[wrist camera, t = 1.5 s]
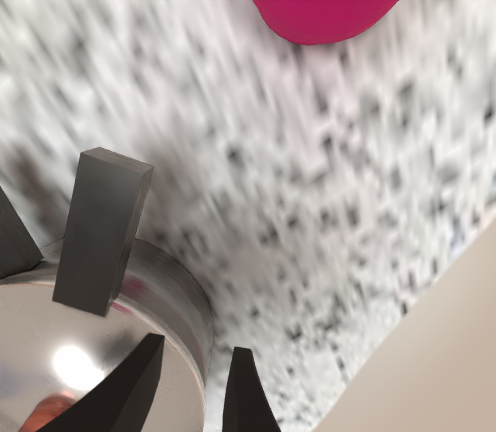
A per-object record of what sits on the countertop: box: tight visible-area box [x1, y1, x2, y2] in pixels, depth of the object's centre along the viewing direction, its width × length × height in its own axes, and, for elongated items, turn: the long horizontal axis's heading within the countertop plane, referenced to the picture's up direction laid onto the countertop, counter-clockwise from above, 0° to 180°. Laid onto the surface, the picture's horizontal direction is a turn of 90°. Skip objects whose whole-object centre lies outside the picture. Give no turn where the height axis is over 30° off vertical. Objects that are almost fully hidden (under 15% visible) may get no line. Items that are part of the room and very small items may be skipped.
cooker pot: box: [0, 186, 214, 388], centre depth 22 cm, size 15×24×6 cm, turn 20°
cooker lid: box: [0, 147, 206, 432], centre depth 17 cm, size 22×16×3 cm
